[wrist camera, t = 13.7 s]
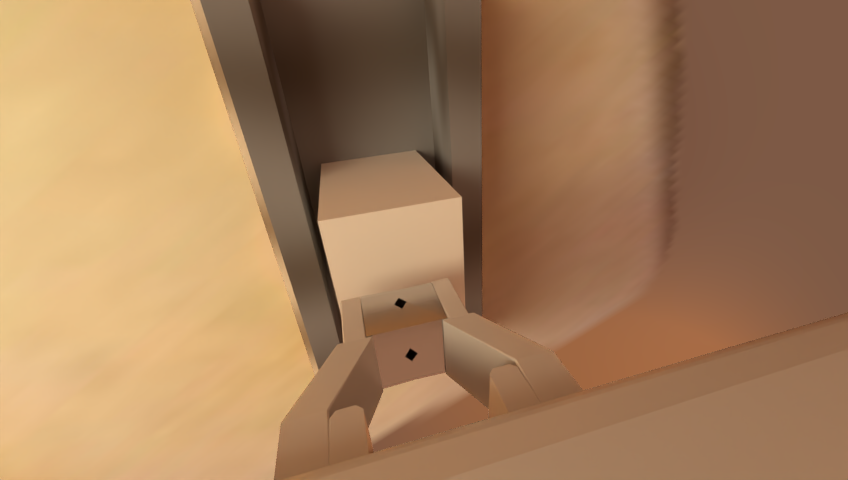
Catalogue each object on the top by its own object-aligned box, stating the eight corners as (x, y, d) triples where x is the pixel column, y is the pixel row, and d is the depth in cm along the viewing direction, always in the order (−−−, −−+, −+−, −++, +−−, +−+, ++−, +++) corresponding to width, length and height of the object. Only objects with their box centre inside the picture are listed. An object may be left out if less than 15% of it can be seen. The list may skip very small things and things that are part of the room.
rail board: (196, -19, 12) (138, -55, 9) (462, -32, 14) (512, -67, 10) (317, 361, 21) (315, 426, 18) (471, 324, 23) (499, 376, 19)
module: (321, 163, 14) (317, 221, 9) (415, 150, 15) (461, 196, 10) (348, 282, 17) (357, 378, 12) (426, 266, 18) (466, 350, 13)
